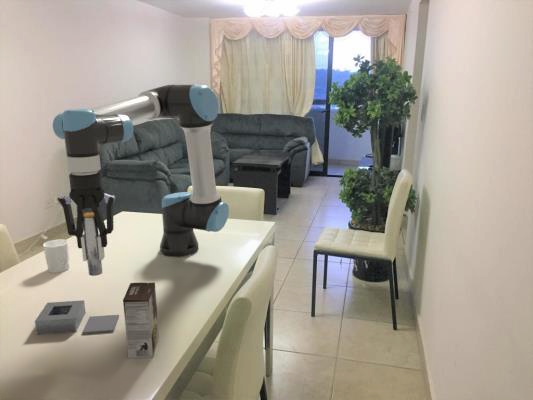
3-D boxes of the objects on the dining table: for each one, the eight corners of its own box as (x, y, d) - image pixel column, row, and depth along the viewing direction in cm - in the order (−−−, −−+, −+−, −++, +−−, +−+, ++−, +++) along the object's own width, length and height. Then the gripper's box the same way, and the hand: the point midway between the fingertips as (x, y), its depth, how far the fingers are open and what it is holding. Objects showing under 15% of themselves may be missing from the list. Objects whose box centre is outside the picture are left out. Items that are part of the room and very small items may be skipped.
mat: (118, 316, 125) (118, 314, 125) (113, 331, 117) (113, 329, 117) (89, 318, 124) (89, 316, 123) (82, 334, 116) (82, 332, 116)
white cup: (61, 274, 151) (58, 248, 149) (41, 272, 153) (37, 246, 150) (75, 265, 159) (72, 240, 156) (56, 263, 160) (53, 238, 158)
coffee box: (134, 338, 114) (130, 282, 110) (159, 336, 115) (155, 281, 111) (127, 359, 106) (121, 299, 101) (154, 358, 106) (149, 298, 102)
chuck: (85, 312, 127) (84, 300, 126) (76, 331, 117) (74, 318, 116) (49, 315, 125) (47, 302, 124) (36, 334, 116) (34, 321, 115)
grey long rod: (103, 270, 118) (97, 210, 114) (100, 275, 115) (94, 214, 110) (90, 270, 118) (84, 211, 113) (87, 276, 114) (80, 215, 110)
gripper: (121, 168, 114) (128, 251, 120) (55, 169, 111) (65, 254, 118) (116, 174, 107) (123, 262, 113) (45, 175, 104) (57, 266, 110)
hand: (94, 258), depth 115 cm, fingers closed on grey long rod, 3 cm apart
